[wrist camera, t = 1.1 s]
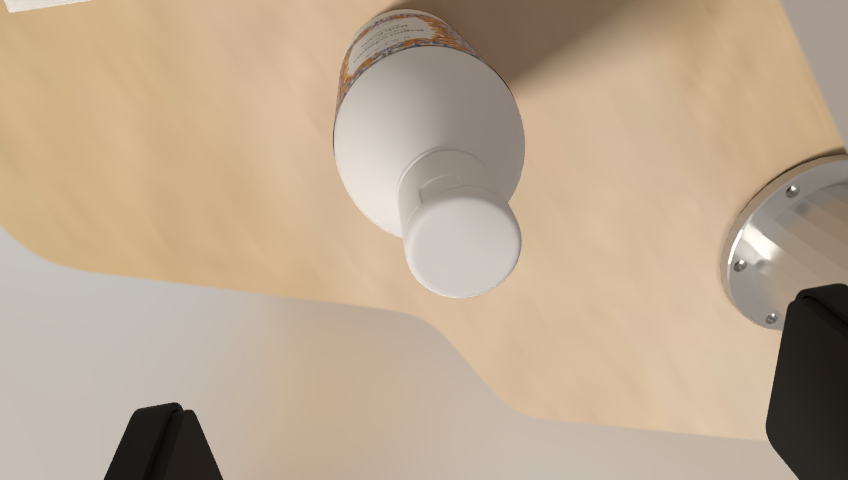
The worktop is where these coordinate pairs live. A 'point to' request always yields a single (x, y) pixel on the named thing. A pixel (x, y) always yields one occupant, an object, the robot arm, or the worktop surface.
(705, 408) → the worktop surface
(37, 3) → the dock
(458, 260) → the bath foam
